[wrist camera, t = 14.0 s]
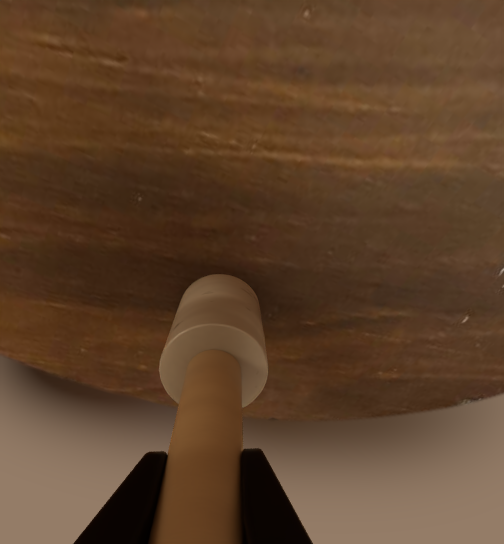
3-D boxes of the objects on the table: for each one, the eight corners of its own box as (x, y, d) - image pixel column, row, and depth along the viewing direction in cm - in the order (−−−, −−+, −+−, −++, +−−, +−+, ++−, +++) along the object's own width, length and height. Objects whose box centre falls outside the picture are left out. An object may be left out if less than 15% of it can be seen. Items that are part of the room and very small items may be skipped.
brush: (272, 290, 14) (382, 734, 3) (242, 354, 15) (256, 851, 4) (195, 261, 13) (46, 686, 3) (169, 330, 14) (-11, 834, 4)
